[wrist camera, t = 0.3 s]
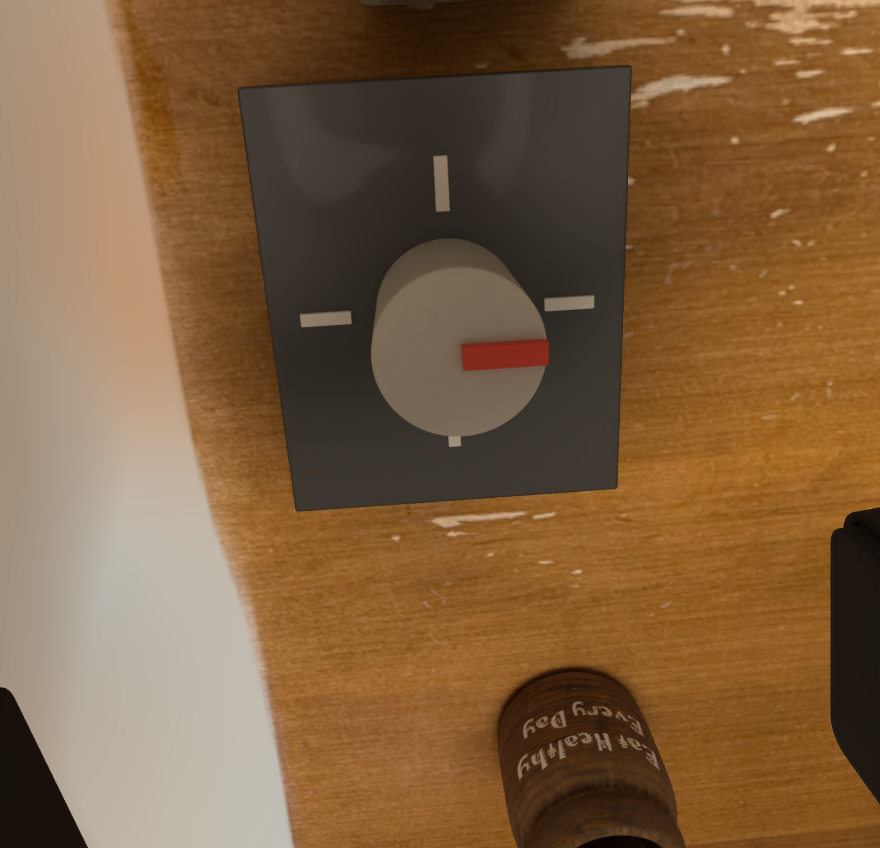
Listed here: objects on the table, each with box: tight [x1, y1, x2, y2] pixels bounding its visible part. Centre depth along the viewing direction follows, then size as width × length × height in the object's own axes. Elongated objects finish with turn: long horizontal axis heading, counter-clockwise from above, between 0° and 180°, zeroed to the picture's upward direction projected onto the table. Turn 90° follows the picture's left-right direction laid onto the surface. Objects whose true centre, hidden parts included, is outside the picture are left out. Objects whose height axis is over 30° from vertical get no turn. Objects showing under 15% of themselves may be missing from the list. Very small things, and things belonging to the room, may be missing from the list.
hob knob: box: [371, 238, 549, 436], centre depth 19 cm, size 4×4×5 cm
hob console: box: [237, 65, 632, 512], centre depth 23 cm, size 12×10×3 cm
